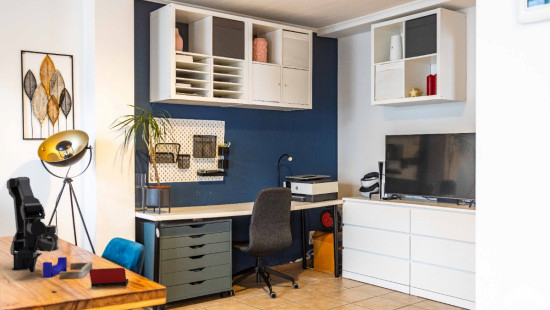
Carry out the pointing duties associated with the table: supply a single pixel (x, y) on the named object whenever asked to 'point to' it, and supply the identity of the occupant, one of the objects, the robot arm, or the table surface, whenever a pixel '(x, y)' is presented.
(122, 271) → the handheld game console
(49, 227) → the ink bottle
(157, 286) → the table surface
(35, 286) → the table surface
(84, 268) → the slot rails
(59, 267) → the cable clip
